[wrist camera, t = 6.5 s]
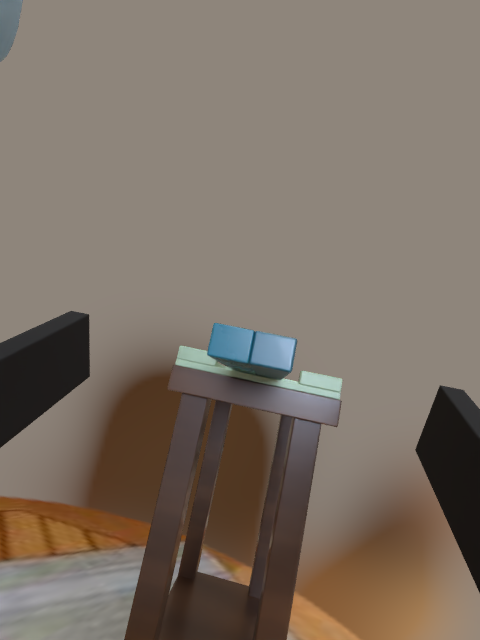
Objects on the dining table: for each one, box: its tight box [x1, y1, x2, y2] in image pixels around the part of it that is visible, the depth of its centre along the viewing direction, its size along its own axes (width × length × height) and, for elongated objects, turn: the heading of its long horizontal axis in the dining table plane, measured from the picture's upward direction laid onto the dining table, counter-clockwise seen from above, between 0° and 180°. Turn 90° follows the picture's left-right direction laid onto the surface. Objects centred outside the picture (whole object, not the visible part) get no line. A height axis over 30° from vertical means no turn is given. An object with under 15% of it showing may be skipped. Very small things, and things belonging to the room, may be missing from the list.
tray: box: [176, 346, 342, 400], centre depth 29 cm, size 18×10×1 cm, turn 175°
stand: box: [124, 365, 341, 640], centre depth 26 cm, size 18×10×30 cm, turn 175°
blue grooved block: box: [207, 323, 297, 380], centre depth 24 cm, size 24×3×1 cm, turn 175°
